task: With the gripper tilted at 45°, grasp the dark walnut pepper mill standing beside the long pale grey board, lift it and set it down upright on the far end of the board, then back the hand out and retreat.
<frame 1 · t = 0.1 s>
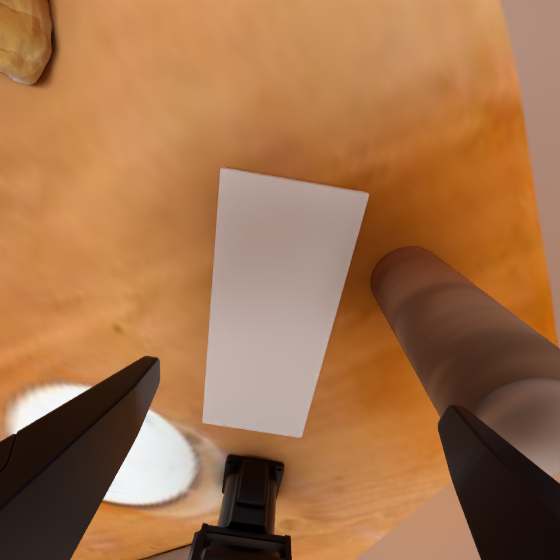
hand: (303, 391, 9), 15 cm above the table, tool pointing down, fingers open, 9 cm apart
pastry: (2, 2, 17), on the table
grey board: (270, 323, 25), on the table
pepper mill: (406, 279, 23), on the table
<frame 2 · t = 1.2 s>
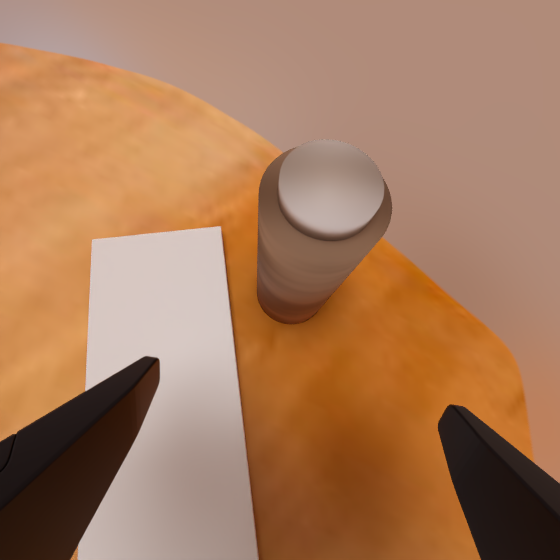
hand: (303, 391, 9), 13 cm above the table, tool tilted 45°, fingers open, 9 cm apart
grey board: (168, 388, 21), on the table
pepper mill: (290, 291, 24), on the table
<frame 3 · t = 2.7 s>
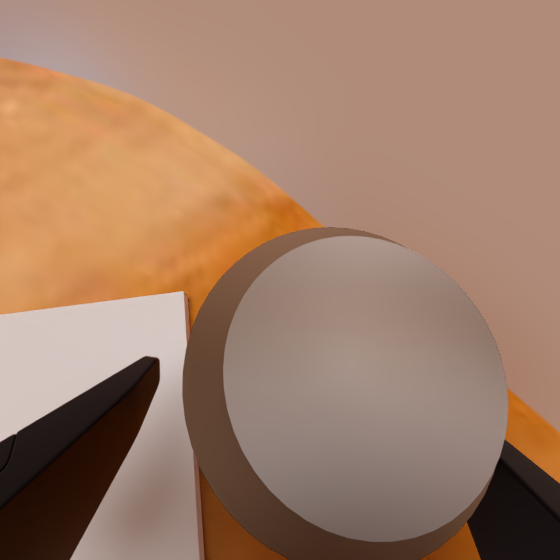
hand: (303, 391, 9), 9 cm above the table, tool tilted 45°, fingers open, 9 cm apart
grey board: (94, 552, 14), on the table
pepper mill: (281, 382, 17), on the table
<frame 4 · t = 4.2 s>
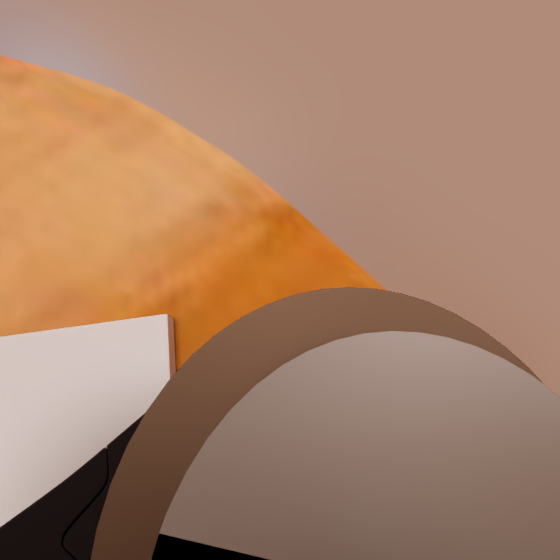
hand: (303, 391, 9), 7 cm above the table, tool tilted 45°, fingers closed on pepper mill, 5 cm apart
pepper mill: (278, 417, 15), on the table, touching gripper
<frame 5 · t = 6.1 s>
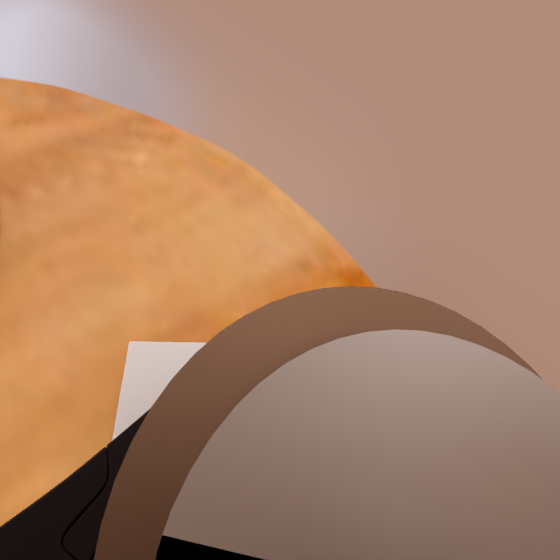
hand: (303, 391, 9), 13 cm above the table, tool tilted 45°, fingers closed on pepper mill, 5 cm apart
grey board: (185, 540, 18), on the table
pepper mill: (279, 417, 15), point 6 cm above the table, touching gripper
when the fingers open (10 cm above the table, at t = 8.3 s): pepper mill drops 1 cm, resting on grey board.
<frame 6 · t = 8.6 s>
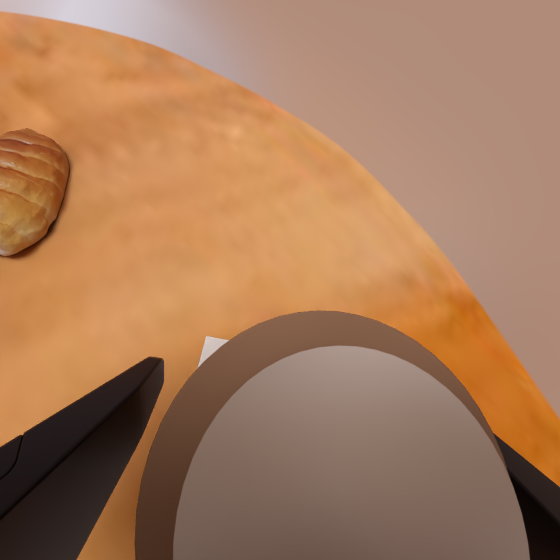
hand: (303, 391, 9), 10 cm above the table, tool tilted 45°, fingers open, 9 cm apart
pastry: (18, 207, 21), on the table
pepper mill: (276, 416, 16), point 1 cm above the table, touching grey board
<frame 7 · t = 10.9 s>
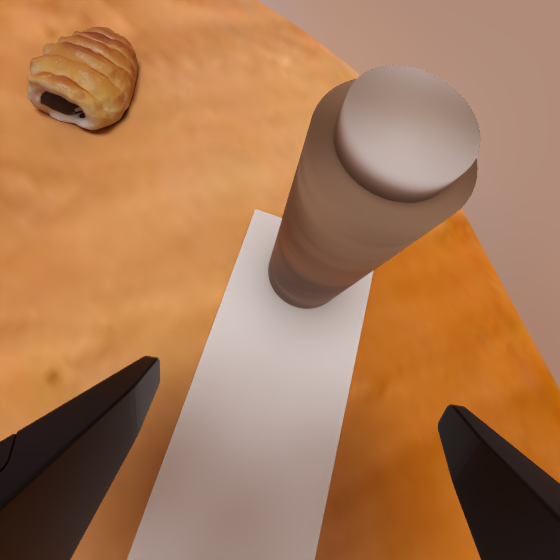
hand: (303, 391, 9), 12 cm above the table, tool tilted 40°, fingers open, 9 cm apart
pastry: (95, 96, 25), on the table
grey board: (270, 387, 20), on the table
pepper mill: (305, 271, 21), point 1 cm above the table, touching grey board
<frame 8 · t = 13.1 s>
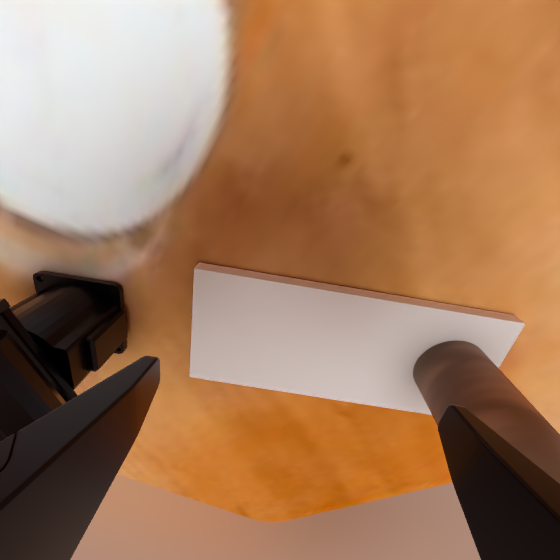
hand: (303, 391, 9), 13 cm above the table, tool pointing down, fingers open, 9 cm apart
grey board: (342, 342, 24), on the table
pepper mill: (449, 369, 23), point 1 cm above the table, touching grey board
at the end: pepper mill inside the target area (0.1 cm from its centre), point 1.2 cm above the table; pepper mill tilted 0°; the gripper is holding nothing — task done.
